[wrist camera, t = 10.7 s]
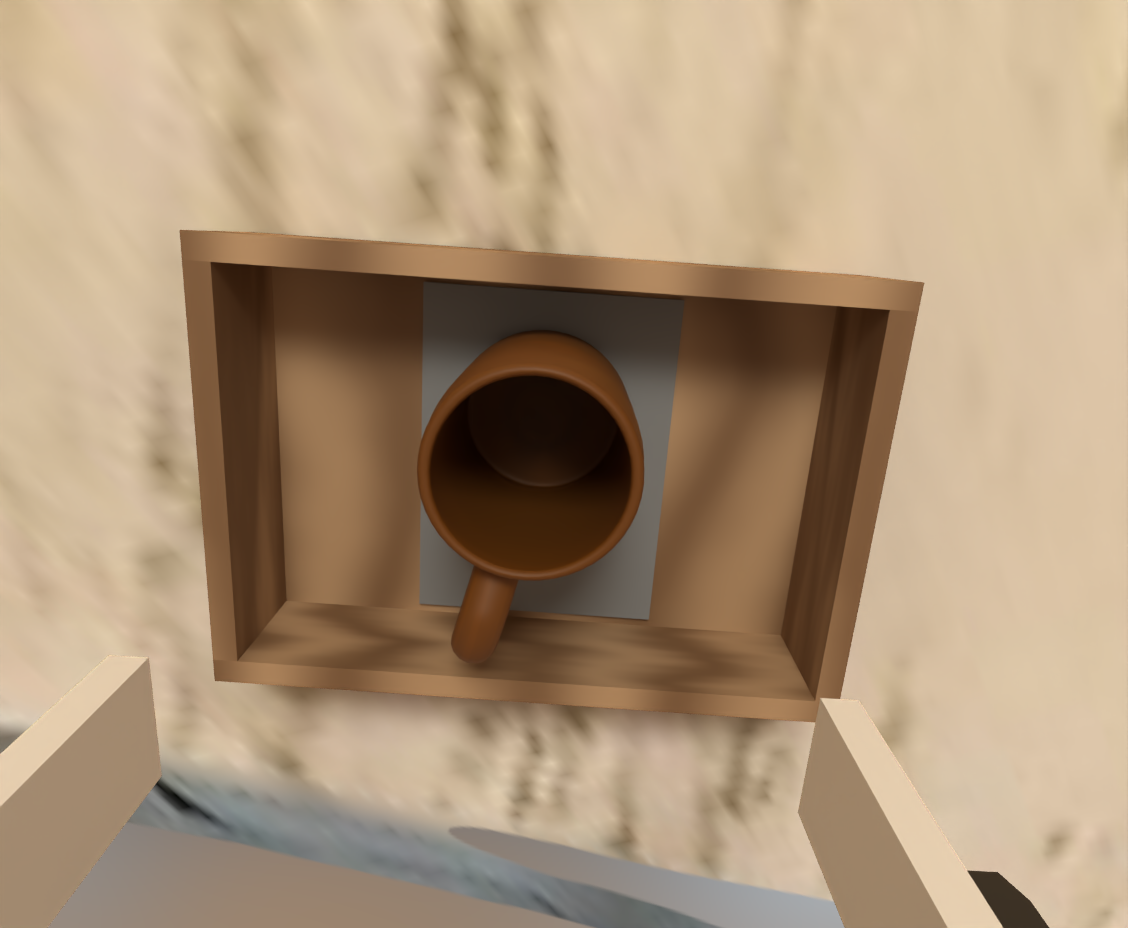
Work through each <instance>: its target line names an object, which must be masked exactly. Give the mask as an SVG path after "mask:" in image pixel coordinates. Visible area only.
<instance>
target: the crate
mask: <svg viewBox="0 0 1128 928" xmlns="http://www.w3.org/2000/svg"><path fill="white" fill-rule="evenodd" d="M180 240H181V253H182V266H183V279H184V291H185V304H186V317H187V330H188V343H189V356H190V368H191V381H192V394H193V407H194V420H195V432H196V445H197V458H198V471H199V484H200V497H201V509H202V522H203V535H204V548H205V561H206V573H207V586H208V599H209V612H210V625H211V638H212V650H213V663H214V676H215V681H226V682H240V683H255V684H269V685H284V686H298V687H313V688H327V689H341V690H356V691H370V692H385V693H399V694H414V695H428V696H443V697H457V698H471V699H486V700H500V701H515V702H529V703H544V704H558V705H573V706H587V707H602V708H616V709H630V710H645V711H659V712H674V713H688V714H703V715H717V716H732V717H746V718H760V719H775V720H789V721H804V722H816V718H817V713H818V708H819V703H820V698H830V699H840V696H841V691H842V686H843V681H844V676H845V672H846V667H847V662H848V657H849V652H850V647H851V642H852V637H853V632H854V627H855V622H856V617H857V612H858V607H859V602H860V597H861V592H862V587H863V583H864V578H865V573H866V568H867V563H868V558H869V553H870V548H871V543H872V538H873V533H874V528H875V523H876V518H877V513H878V508H879V503H880V499H881V494H882V489H883V484H884V479H885V474H886V469H887V464H888V459H889V454H890V449H891V444H892V439H893V434H894V429H895V424H896V419H897V414H898V410H899V405H900V400H901V395H902V390H903V385H904V380H905V375H906V370H907V365H908V360H909V355H910V350H911V345H912V340H913V335H914V330H915V326H916V321H917V316H918V311H919V306H920V301H921V296H922V291H923V286H924V283H922V282H914V281H905V280H896V279H888V278H879V277H870V276H862V275H848V274H834V273H820V272H806V271H792V270H778V269H763V268H749V267H735V266H721V265H707V264H693V263H679V262H664V261H650V260H636V259H622V258H608V257H594V256H580V255H566V254H551V253H537V252H523V251H509V250H495V249H481V248H467V247H452V246H438V245H424V244H410V243H396V242H382V241H368V240H354V239H339V238H325V237H311V236H297V235H283V234H269V233H255V232H226V231H195V230H180ZM424 282H437V283H451V284H466V285H480V286H494V287H508V288H522V289H536V290H550V291H565V292H579V293H593V294H607V295H621V296H635V297H650V298H664V299H678V300H685V301H684V310H683V319H682V328H681V337H680V346H679V355H678V364H677V373H676V381H675V390H674V399H673V408H672V417H671V426H670V435H669V444H668V453H667V462H666V470H665V479H664V488H663V497H662V506H661V515H660V524H659V533H658V542H657V551H656V559H655V568H654V577H653V586H652V595H651V604H650V613H649V620H646V619H631V618H617V617H603V616H588V615H574V614H559V613H545V612H531V611H516V610H509V613H508V616H507V619H506V622H505V625H504V628H503V631H502V633H501V636H500V639H499V642H498V644H497V647H496V649H495V650H494V652H493V654H492V655H491V656H490V657H489V658H488V659H487V660H485V661H484V662H480V663H476V664H474V663H466V662H465V661H463V660H461V659H459V658H458V657H457V656H456V654H455V653H454V652H453V649H452V646H451V638H452V633H453V630H454V627H455V624H456V621H457V617H458V614H459V611H460V608H461V607H459V606H444V605H430V604H419V597H420V519H421V498H420V493H419V488H418V480H417V460H418V452H419V447H420V443H421V440H422V362H423V284H424Z"/></svg>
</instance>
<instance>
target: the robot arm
mask: <svg viewBox="0 0 1128 928" xmlns="http://www.w3.org/2000/svg"><path fill="white" fill-rule="evenodd" d="M161 776H162V774H161V765H160V756H159V747H158V738H157V729H156V719H155V710H154V701H153V692H152V683H151V674H150V665H149V657H133V656H116V655H108V656H107V657H106V658H105V659H104V660H103V661H102V662H101V663H100V664H98V665H97V666H96V667H95V668H94V669H93V670H92V671H91V672H90V673H89V674H88V675H86V676H85V677H84V678H83V679H82V680H81V681H80V682H79V683H78V684H77V685H75V686H74V687H73V688H72V689H71V690H70V691H69V692H68V693H67V694H66V695H65V696H63V697H62V698H61V699H60V700H59V701H58V702H57V703H56V704H55V705H54V706H52V707H51V708H50V709H49V710H48V711H47V712H46V713H45V714H44V715H43V716H42V717H40V718H39V719H38V720H37V721H36V722H35V723H34V724H33V725H32V726H31V727H29V728H28V729H27V730H26V731H25V732H24V733H23V734H22V735H21V736H20V737H19V738H17V739H16V740H15V741H14V742H13V743H12V744H11V745H10V746H9V747H8V748H6V749H5V750H4V751H3V752H2V753H1V754H0V928H48V926H49V925H50V924H51V922H52V921H53V920H54V918H55V917H56V916H57V914H58V913H59V912H60V910H61V909H62V908H63V906H64V905H65V904H66V902H67V901H68V900H69V898H70V897H71V896H72V894H73V893H74V892H75V890H76V889H77V888H78V886H79V885H80V884H81V882H82V881H83V880H84V878H85V877H86V876H87V874H88V873H89V872H90V870H91V869H92V868H93V866H94V865H95V864H96V862H97V861H98V860H99V858H100V857H101V856H102V854H103V853H104V852H105V850H106V849H107V848H108V846H109V845H110V844H111V842H112V841H113V840H114V838H115V837H116V836H117V834H118V833H119V832H120V830H121V829H122V828H123V827H124V825H125V824H126V823H127V821H128V820H129V819H130V817H131V816H132V815H133V813H134V812H135V811H136V809H137V808H138V807H139V805H140V804H141V803H142V801H143V800H144V799H145V797H146V796H147V795H148V793H149V792H150V791H151V789H152V788H153V787H154V785H155V784H156V783H157V781H158V780H159V779H160V777H161ZM798 813H799V816H800V818H801V821H802V823H803V826H804V828H805V831H806V833H807V836H808V838H809V841H810V843H811V846H812V848H813V851H814V853H815V856H816V858H817V860H818V863H819V865H820V868H821V870H822V873H823V875H824V878H825V880H826V883H827V885H828V888H829V890H830V893H831V895H832V898H833V900H834V903H835V905H836V907H837V910H838V912H839V915H840V917H841V920H842V922H843V925H844V927H845V928H1049V927H1048V925H1047V924H1046V923H1045V921H1044V920H1043V918H1042V917H1041V915H1040V914H1039V913H1038V911H1037V910H1036V908H1035V907H1034V905H1033V904H1032V903H1031V901H1030V900H1029V899H1027V898H1026V897H1025V896H1024V895H1023V894H1022V893H1021V892H1019V891H1018V890H1017V889H1016V888H1015V887H1014V886H1013V885H1012V884H1010V883H1009V882H1008V881H1007V880H1006V879H1005V878H1004V877H1003V876H1001V875H1000V874H999V873H998V872H983V871H967V870H966V868H965V867H964V865H963V864H962V862H961V860H960V859H959V857H958V856H957V854H956V853H955V851H954V849H953V848H952V846H951V845H950V843H949V841H948V840H947V838H946V837H945V835H944V834H943V832H942V830H941V829H940V827H939V826H938V824H937V823H936V821H935V819H934V818H933V816H932V815H931V813H930V812H929V810H928V808H927V807H926V805H925V804H924V802H923V800H922V799H921V797H920V796H919V794H918V793H917V791H916V789H915V788H914V786H913V785H912V783H911V782H910V780H909V778H908V777H907V775H906V774H905V772H904V771H903V769H902V767H901V766H900V764H899V763H898V761H897V759H896V758H895V756H894V755H893V753H892V752H891V750H890V748H889V747H888V745H887V744H886V742H885V741H884V739H883V737H882V736H881V734H880V733H879V731H878V729H877V728H876V726H875V725H874V723H873V722H872V720H871V718H870V717H869V715H868V714H867V712H866V711H865V709H864V707H863V706H862V704H861V703H860V701H859V700H847V699H830V698H820V703H819V708H818V713H817V718H816V723H815V728H814V733H813V738H812V743H811V748H810V754H809V759H808V764H807V769H806V774H805V779H804V784H803V789H802V794H801V800H800V805H799V810H798Z"/></svg>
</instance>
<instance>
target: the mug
mask: <svg viewBox="0 0 1128 928" xmlns="http://www.w3.org/2000/svg"><path fill="white" fill-rule="evenodd" d="M417 480H418V488H419V493H420V498H421V501H422V503H423V506H424V509H425V512H426V514H427V516H428V518H429V520H430V522H431V524H432V525H433V527H434V528H435V530H436V531H437V533H438V534H439V536H440V537H441V538H442V539H443V540H444V541H445V542H446V543H447V545H448V546H449V547H450V548H452V549H453V550H454V551H455V552H456V553H457V554H458V555H460V556H461V557H462V558H464V559H465V560H467V561H468V562H470V563H471V564H473V565H474V567H473V570H472V574H471V577H470V580H469V583H468V586H467V589H466V592H465V595H464V599H463V602H462V605H461V608H460V611H459V614H458V617H457V621H456V624H455V627H454V630H453V633H452V638H451V646H452V649H453V652H454V653H455V654H456V656H457V657H458V658H459V659H461V660H463V661H465V662H466V663H474V664H476V663H480V662H484V661H485V660H487V659H488V658H489V657H490V656H491V655H492V654H493V652H494V650H495V649H496V647H497V644H498V642H499V639H500V636H501V633H502V631H503V628H504V625H505V622H506V619H507V616H508V613H509V609H510V606H511V603H512V600H513V597H514V593H515V590H516V587H517V584H518V581H519V580H525V581H540V580H549V579H555V578H559V577H563V576H568V575H570V574H573V573H575V572H578V571H581V570H583V569H585V568H586V567H588V566H590V565H592V564H594V563H595V562H597V561H598V560H600V559H601V558H602V557H604V556H605V555H606V554H607V553H608V552H610V551H611V550H612V549H613V548H614V547H615V546H616V545H617V544H618V542H619V541H620V540H621V539H622V538H623V536H624V535H625V534H626V532H627V530H628V529H629V527H630V526H631V524H632V522H633V520H634V518H635V516H636V514H637V511H638V508H639V505H640V502H641V499H642V493H643V487H644V450H643V441H642V437H641V433H640V429H639V425H638V422H637V419H636V416H635V413H634V410H633V407H632V404H631V402H630V399H629V397H628V394H627V391H626V389H625V386H624V384H623V382H622V380H621V378H620V376H619V374H618V373H617V371H616V369H615V368H614V367H613V365H612V364H611V363H610V362H609V360H608V359H607V358H606V357H605V356H604V355H603V354H602V353H601V352H600V351H598V350H597V349H596V348H594V347H593V346H592V345H590V344H589V343H587V342H585V341H583V340H582V339H580V338H577V337H575V336H572V335H570V334H566V333H562V332H558V331H550V330H532V331H525V332H521V333H517V334H513V335H511V336H508V337H506V338H504V339H501V340H500V341H498V342H496V343H495V344H493V345H491V346H490V347H488V348H487V349H486V350H485V351H483V352H482V353H481V354H480V355H479V356H478V357H477V358H476V359H475V360H474V361H473V362H472V363H471V364H470V365H469V366H468V367H467V368H466V369H465V370H464V371H463V372H462V374H461V375H460V376H459V377H458V378H457V379H456V380H455V381H454V382H453V384H452V385H451V386H450V387H449V388H448V389H447V391H446V392H445V394H444V395H443V396H442V398H441V399H440V401H439V402H438V404H437V406H436V408H435V409H434V411H433V413H432V415H431V418H430V420H429V422H428V424H427V426H426V429H425V431H424V434H423V437H422V440H421V443H420V447H419V452H418V460H417Z"/></svg>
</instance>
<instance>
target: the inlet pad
mask: <svg viewBox="0 0 1128 928" xmlns="http://www.w3.org/2000/svg"><path fill="white" fill-rule="evenodd" d="M684 301H685V300H678V299H664V298H650V297H635V296H621V295H607V294H593V293H579V292H565V291H550V290H536V289H522V288H508V287H494V286H480V285H466V284H451V283H437V282H424V284H423V362H422V437H423V434H424V431H425V429H426V426H427V424H428V422H429V420H430V418H431V415H432V413H433V411H434V409H435V408H436V406H437V404H438V402H439V401H440V399H441V398H442V396H443V395H444V394H445V392H446V391H447V389H448V388H449V387H450V386H451V385H452V384H453V382H454V381H455V380H456V379H457V378H458V377H459V376H460V375H461V374H462V372H463V371H464V370H465V369H466V368H467V367H468V366H469V365H470V364H471V363H472V362H473V361H474V360H475V359H476V358H477V357H478V356H479V355H480V354H481V353H482V352H483V351H485V350H486V349H487V348H488V347H490V346H491V345H493V344H495V343H496V342H498V341H500V340H501V339H504V338H506V337H508V336H511V335H513V334H517V333H521V332H525V331H532V330H550V331H558V332H562V333H566V334H570V335H572V336H575V337H577V338H580V339H582V340H583V341H585V342H587V343H589V344H590V345H592V346H593V347H594V348H596V349H597V350H598V351H600V352H601V353H602V354H603V355H604V356H605V357H606V358H607V359H608V360H609V362H610V363H611V364H612V365H613V367H614V368H615V369H616V371H617V373H618V374H619V376H620V378H621V380H622V382H623V384H624V386H625V389H626V391H627V394H628V397H629V399H630V402H631V404H632V407H633V410H634V413H635V416H636V419H637V422H638V425H639V429H640V433H641V437H642V441H643V450H644V487H643V493H642V499H641V502H640V505H639V508H638V511H637V514H636V516H635V518H634V520H633V522H632V524H631V526H630V527H629V529H628V530H627V532H626V534H625V535H624V536H623V538H622V539H621V540H620V541H619V542H618V544H617V545H616V546H615V547H614V548H613V549H612V550H611V551H610V552H608V553H607V554H606V555H605V556H604V557H602V558H601V559H600V560H598V561H597V562H595V563H594V564H592V565H590V566H588V567H586V568H585V569H583V570H581V571H578V572H575V573H573V574H570V575H568V576H563V577H559V578H555V579H549V580H540V581H525V580H519V581H518V584H517V587H516V590H515V593H514V597H513V600H512V603H511V606H510V609H509V610H516V611H531V612H545V613H559V614H574V615H588V616H603V617H617V618H631V619H646V620H649V613H650V604H651V595H652V586H653V577H654V568H655V559H656V551H657V542H658V533H659V524H660V515H661V506H662V497H663V488H664V479H665V470H666V462H667V453H668V444H669V435H670V426H671V417H672V408H673V399H674V390H675V381H676V373H677V364H678V355H679V346H680V337H681V328H682V319H683V310H684ZM473 567H474V565H473V564H471V563H470V562H468V561H467V560H465V559H464V558H462V557H461V556H460V555H458V554H457V553H456V552H455V551H454V550H453V549H452V548H450V547H449V546H448V545H447V543H446V542H445V541H444V540H443V539H442V538H441V537H440V536H439V534H438V533H437V531H436V530H435V528H434V527H433V525H432V524H431V522H430V520H429V518H428V516H427V514H426V512H425V509H424V506H423V503H422V501H421V519H420V597H419V604H430V605H444V606H459V607H461V605H462V602H463V599H464V595H465V592H466V589H467V586H468V583H469V580H470V577H471V574H472V570H473Z"/></svg>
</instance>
